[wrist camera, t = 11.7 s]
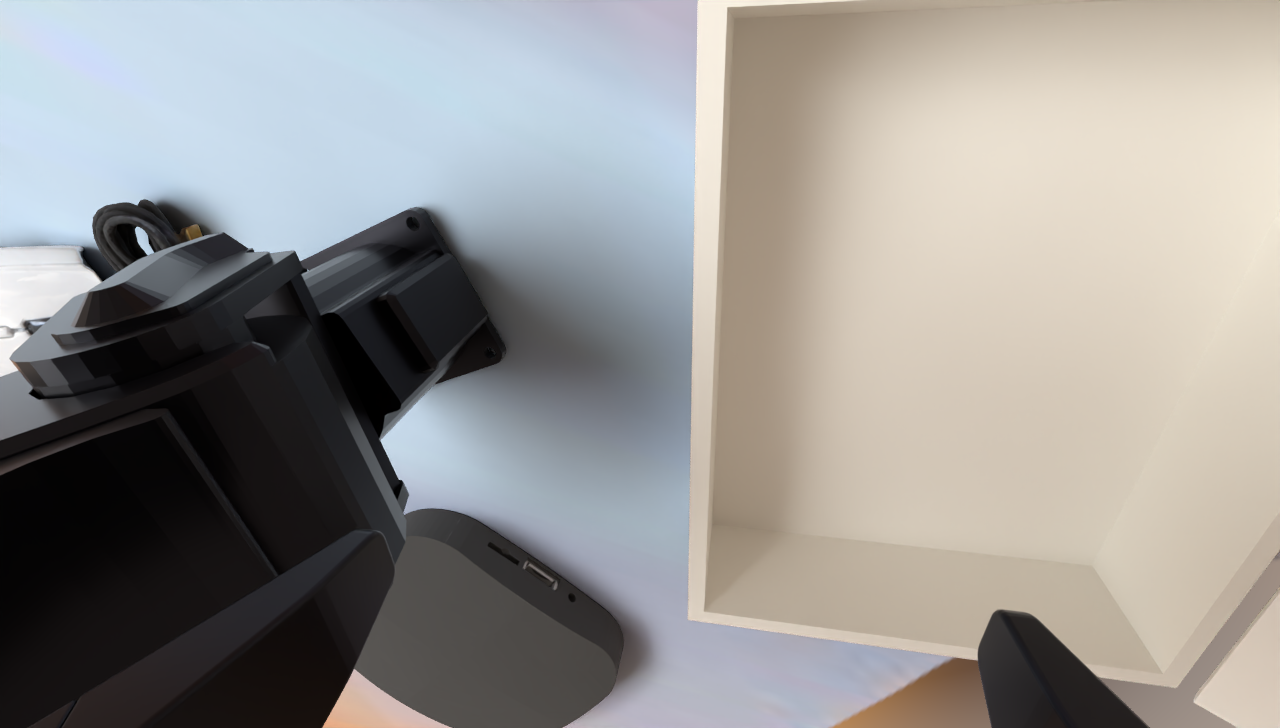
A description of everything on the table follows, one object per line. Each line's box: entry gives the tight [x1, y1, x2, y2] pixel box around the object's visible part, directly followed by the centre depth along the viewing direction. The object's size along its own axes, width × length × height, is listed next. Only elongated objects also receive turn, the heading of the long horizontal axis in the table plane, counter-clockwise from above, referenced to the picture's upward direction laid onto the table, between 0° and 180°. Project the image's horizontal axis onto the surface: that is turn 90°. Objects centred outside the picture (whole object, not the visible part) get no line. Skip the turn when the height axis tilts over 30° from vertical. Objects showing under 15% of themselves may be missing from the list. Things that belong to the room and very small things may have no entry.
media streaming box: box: [354, 509, 623, 728], centre depth 31 cm, size 15×15×3 cm
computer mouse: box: [0, 200, 202, 377], centre depth 24 cm, size 10×18×4 cm, turn 94°
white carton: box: [688, 0, 1280, 688], centre depth 17 cm, size 16×20×5 cm
